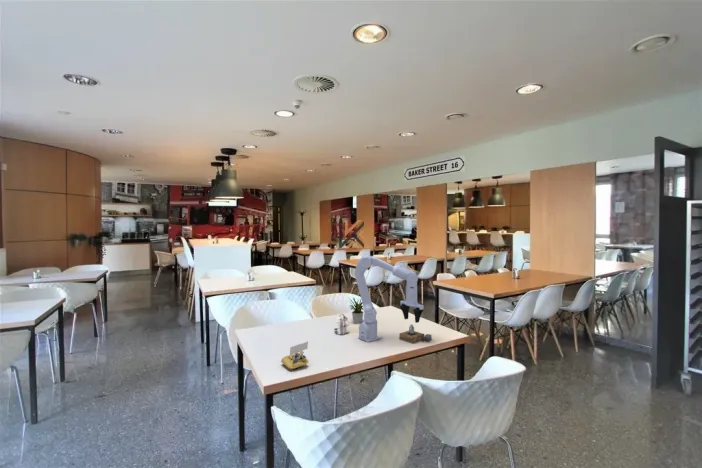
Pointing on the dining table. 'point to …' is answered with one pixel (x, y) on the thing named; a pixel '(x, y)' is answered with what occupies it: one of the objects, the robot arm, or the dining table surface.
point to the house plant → (357, 311)
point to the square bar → (427, 337)
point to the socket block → (411, 337)
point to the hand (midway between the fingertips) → (411, 320)
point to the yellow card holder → (296, 356)
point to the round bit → (411, 330)
